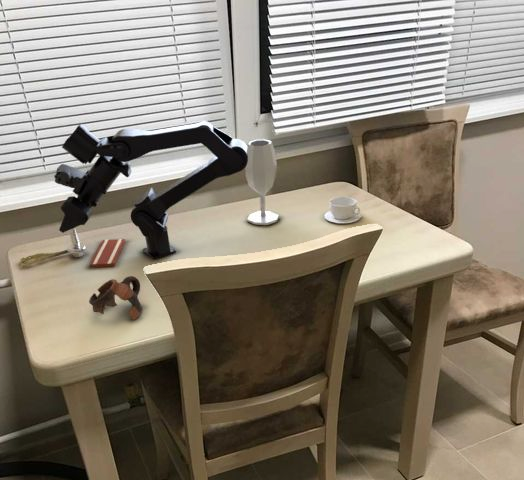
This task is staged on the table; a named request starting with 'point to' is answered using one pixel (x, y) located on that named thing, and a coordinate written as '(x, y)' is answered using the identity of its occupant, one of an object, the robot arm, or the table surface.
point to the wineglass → (261, 177)
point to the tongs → (40, 257)
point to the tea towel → (107, 253)
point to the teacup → (343, 210)
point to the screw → (75, 244)
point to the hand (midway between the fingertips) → (66, 223)
